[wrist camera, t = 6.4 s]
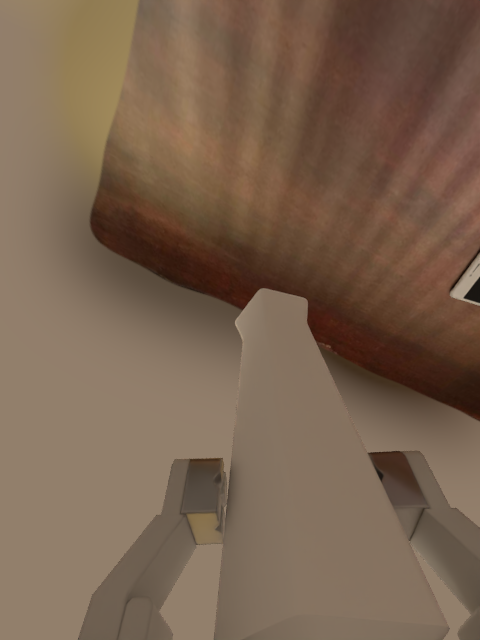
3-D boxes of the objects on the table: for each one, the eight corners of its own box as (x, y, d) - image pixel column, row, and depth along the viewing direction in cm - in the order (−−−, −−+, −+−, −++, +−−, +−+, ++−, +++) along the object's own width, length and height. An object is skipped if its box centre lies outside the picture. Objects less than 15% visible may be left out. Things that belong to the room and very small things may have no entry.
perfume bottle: (283, 367, 19) (379, 909, 6) (218, 333, 17) (164, 939, 5) (338, 310, 16) (663, 957, 4) (268, 267, 15) (420, 1039, 3)
